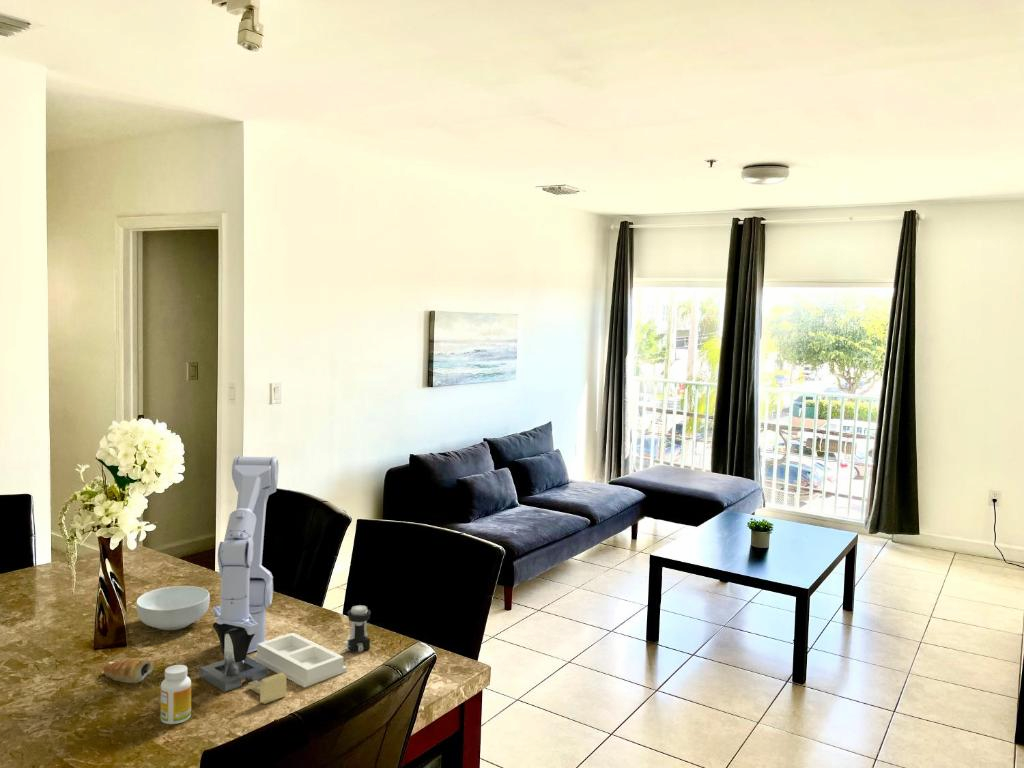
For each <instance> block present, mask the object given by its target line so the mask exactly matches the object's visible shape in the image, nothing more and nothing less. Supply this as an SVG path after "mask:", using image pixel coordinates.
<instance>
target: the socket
mask: <svg viewBox="0 0 1024 768" xmlns="http://www.w3.org/2000/svg"><path fill="white" fill-rule="evenodd" d="M199 677H200V678H201V679H203V680H204V681H206V682H208V683H210V684H211V685H212V686H214V687H216V688H218V689H220V690H221V691H223V692H224V693H226V691H227V692H229V690H230V691H232V689H233V690H235V689H238V688H240V686H241V687H242V679H245V678H246V679H247V680H248V679H249V680H250V681H249V680H248V681H249V682H251V681H255V680H258V681H261V680H262V678H263V679H264V678H267V677H269V668H267V667H266V666H264V665H262V664H260V663H258V662H256V661H255V660H254V658H251V657H249V656H247V655H246V659H245V660H244V672H241V673H238V674H235V675H232V676H227V675H225V674H224V659H223V660H219V661H216V662H213V663H210V664H206V665H203V666H201V667H199ZM260 679H261V680H260ZM237 687H238V688H237ZM234 688H235V689H234Z"/></svg>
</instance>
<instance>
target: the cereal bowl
mask: <svg viewBox="0 0 1024 768" xmlns="http://www.w3.org/2000/svg"><path fill="white" fill-rule="evenodd" d="M210 599H211V595H210V592H209V591H208V590H207V589H206V588H203V587H199V586H193V585H192V586H191V585H173V586H167V587H159V588H157V589H153V590H149V591H148V592H145V593H143V594H142V595H140V596H139V597H138V598H137V600H136V605H135V607H136V608H135V609H136V613H137V617H138V619H139V620H140V621H141V622H142V623H143V624H145V625H146V626H149V627H151V628H155V629H159V630H162V631H175V630H177V631H178V630H181V629H185V628H187V627H189V626H190V625H191V624H192V623H195V622H197V621H199V620H200V619H201V618H203V616H204V615H205V614H206V613H207V611H208V609H209V606H210V601H211V600H210Z"/></svg>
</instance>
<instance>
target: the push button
mask: <svg viewBox="0 0 1024 768" xmlns="http://www.w3.org/2000/svg"><path fill="white" fill-rule="evenodd" d="M371 612H372V611H371V609H368V606H366V605H361V604H359V605H353V606H352V607H351V609H349V610H347V615H348V617H347V618H348V620H349V621H350V636H349V638H348V639H347V644H345V645H342V646H341V647H342V648H344V649H341V651H342V652H347V651H348V652H350V653H356V652H357V653H358V652H363V651H369V650H370V648H371V645H370V644H371V643H370V642H371V639H370V638H369V637H368V633H367V623H368V622H367V621H369V619H370V617H371Z"/></svg>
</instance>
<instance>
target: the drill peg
mask: <svg viewBox="0 0 1024 768" xmlns="http://www.w3.org/2000/svg"><path fill="white" fill-rule="evenodd" d="M235 629H237V628H235ZM235 629H229V630H227V631H225V648H224V655H223V656H224V658H223V660H224V674H225V675H227V676H232V675H235V674H238V673H241V672H244V660H243V661H240V662H235V659H234V652H233V644H232V640H231V638H230V636H229V634H228V631H231V630H235Z"/></svg>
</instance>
